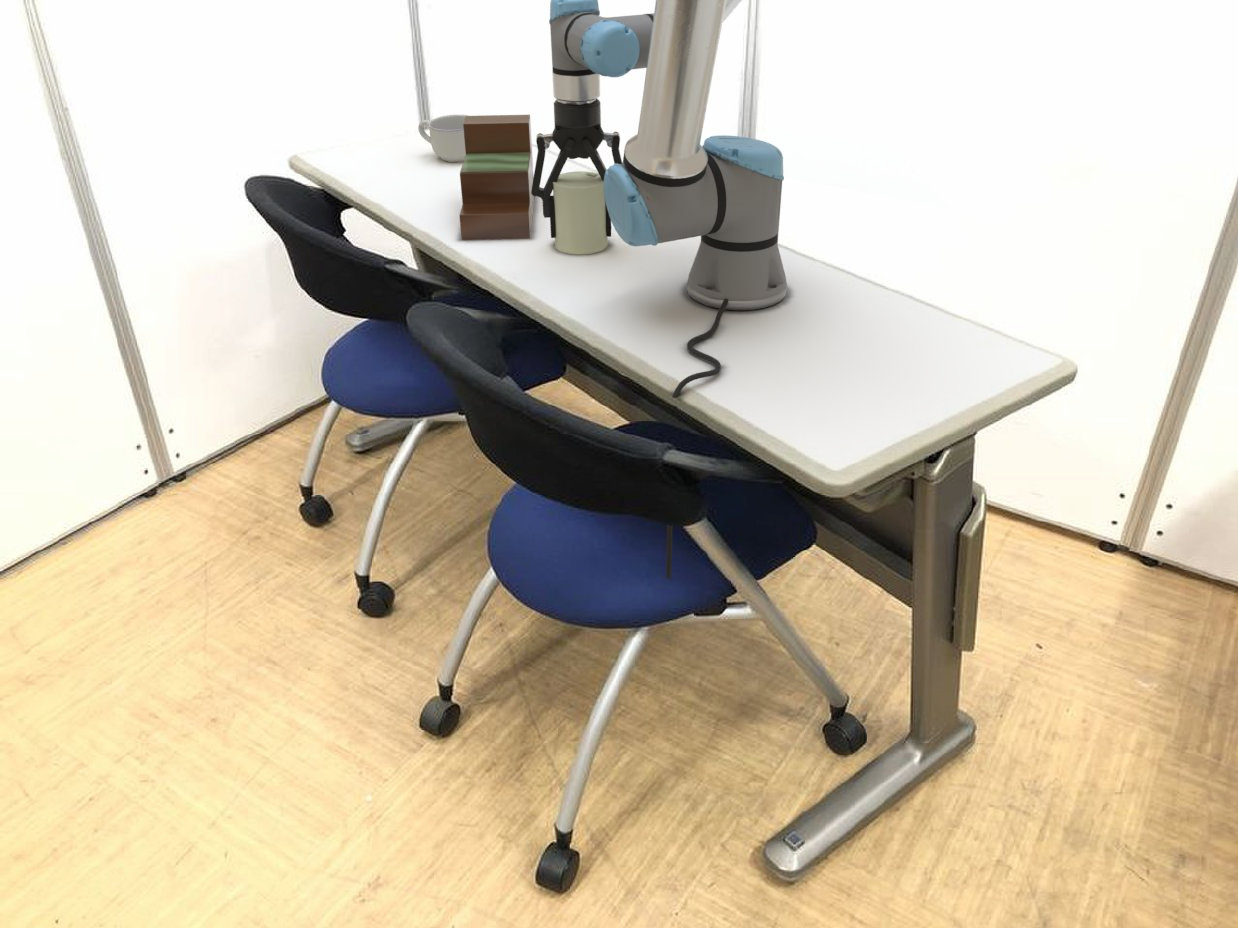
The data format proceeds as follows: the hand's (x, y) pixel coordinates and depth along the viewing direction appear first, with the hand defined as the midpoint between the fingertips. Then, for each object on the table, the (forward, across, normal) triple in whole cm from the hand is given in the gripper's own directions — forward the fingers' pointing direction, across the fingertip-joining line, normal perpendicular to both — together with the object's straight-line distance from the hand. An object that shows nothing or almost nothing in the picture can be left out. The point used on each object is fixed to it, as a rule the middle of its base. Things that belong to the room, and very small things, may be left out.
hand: (581, 234), depth 180 cm
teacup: (+2, +28, -56) cm, 63 cm away
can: (+2, 0, 0) cm, 2 cm away
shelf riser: (+2, +15, -16) cm, 22 cm away
